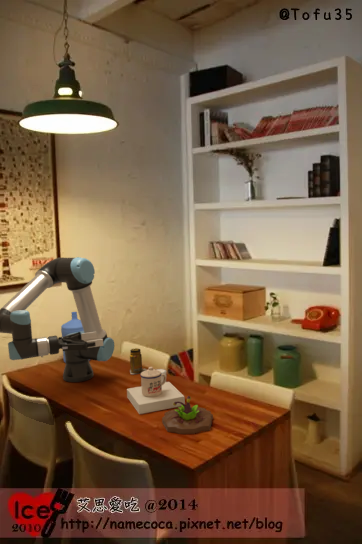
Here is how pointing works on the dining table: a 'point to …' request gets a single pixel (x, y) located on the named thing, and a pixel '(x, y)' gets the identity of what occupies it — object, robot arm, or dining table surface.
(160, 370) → the white cup
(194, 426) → the plant
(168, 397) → the plinth
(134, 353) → the condiment
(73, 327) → the water jug
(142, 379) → the teacup with lid
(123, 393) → the dining table surface
